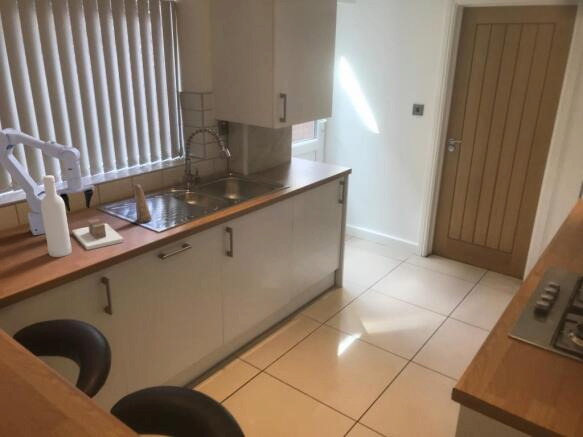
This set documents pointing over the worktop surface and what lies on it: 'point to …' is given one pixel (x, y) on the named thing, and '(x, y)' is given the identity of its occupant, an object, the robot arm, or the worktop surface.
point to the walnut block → (97, 228)
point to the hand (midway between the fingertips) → (78, 209)
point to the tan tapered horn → (141, 205)
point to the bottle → (55, 220)
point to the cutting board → (93, 243)
